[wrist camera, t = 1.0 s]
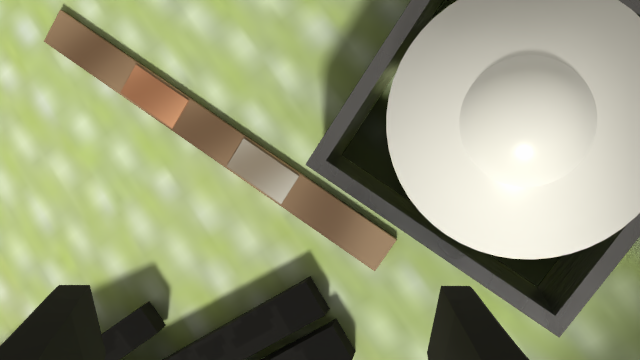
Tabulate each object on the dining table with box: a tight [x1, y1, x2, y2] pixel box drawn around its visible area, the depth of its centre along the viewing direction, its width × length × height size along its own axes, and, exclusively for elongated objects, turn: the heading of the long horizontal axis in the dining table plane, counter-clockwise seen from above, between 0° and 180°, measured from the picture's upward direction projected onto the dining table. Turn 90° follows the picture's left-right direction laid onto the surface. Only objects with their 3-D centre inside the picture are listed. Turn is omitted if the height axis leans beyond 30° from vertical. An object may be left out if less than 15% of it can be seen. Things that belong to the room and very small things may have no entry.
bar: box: [44, 10, 397, 271], centre depth 28 cm, size 20×2×1 cm, turn 57°
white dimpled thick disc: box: [386, 0, 640, 259], centre depth 21 cm, size 10×10×5 cm
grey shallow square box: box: [306, 0, 640, 337], centre depth 24 cm, size 12×12×4 cm
